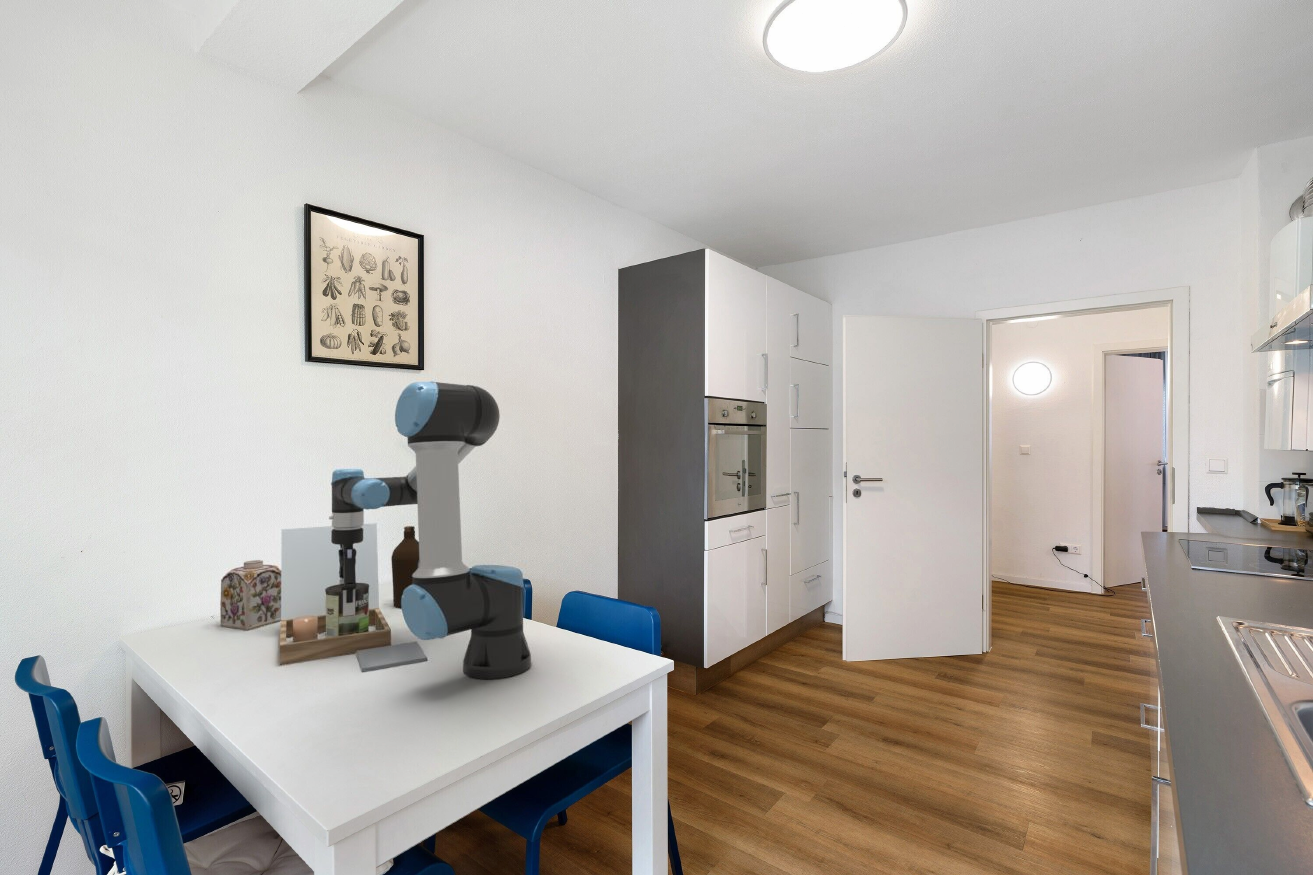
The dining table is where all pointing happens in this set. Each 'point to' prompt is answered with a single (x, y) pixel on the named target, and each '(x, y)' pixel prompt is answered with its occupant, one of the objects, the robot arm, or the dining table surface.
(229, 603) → the decorative jar
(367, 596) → the coffee can
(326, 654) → the open wooden box
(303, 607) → the pale grey square panel
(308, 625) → the pink pillar candle
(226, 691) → the dining table surface
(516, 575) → the robot arm
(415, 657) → the plate
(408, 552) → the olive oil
